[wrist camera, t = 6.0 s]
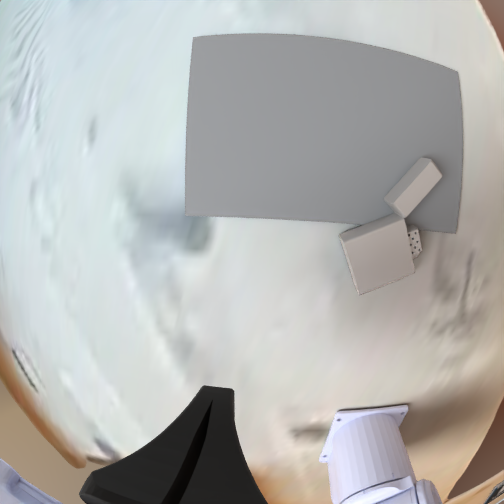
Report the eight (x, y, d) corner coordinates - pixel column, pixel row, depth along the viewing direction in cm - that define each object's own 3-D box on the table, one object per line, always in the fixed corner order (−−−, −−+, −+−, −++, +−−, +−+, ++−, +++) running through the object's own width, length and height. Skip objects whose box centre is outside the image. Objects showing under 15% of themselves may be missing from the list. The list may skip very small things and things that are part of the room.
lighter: (354, 284, 20) (445, 246, 18) (359, 296, 18) (456, 254, 16) (323, 192, 18) (426, 155, 16) (328, 197, 16) (439, 157, 14)
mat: (453, 232, 18) (455, 233, 18) (187, 214, 19) (185, 215, 19) (455, 72, 14) (457, 71, 14) (194, 39, 16) (193, 37, 15)
